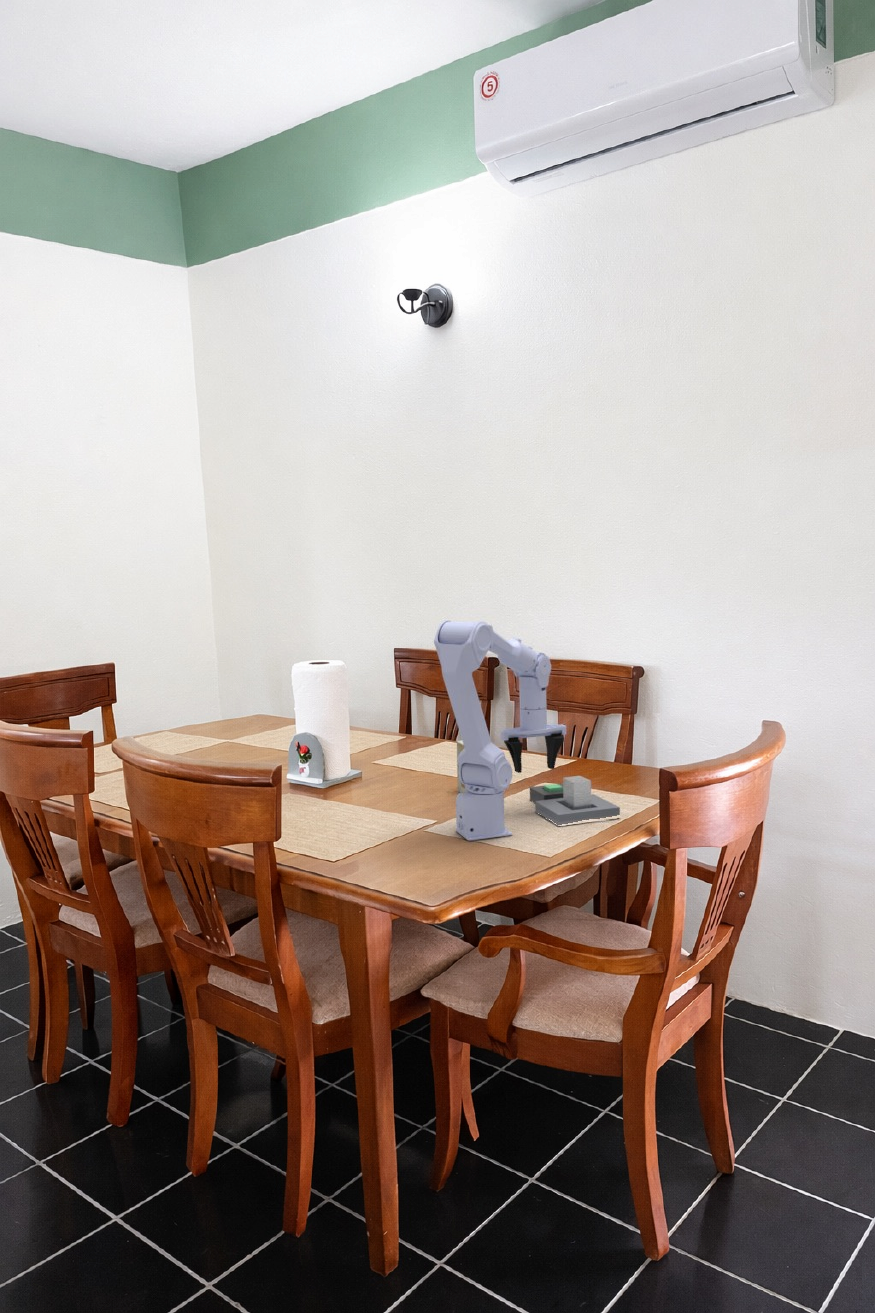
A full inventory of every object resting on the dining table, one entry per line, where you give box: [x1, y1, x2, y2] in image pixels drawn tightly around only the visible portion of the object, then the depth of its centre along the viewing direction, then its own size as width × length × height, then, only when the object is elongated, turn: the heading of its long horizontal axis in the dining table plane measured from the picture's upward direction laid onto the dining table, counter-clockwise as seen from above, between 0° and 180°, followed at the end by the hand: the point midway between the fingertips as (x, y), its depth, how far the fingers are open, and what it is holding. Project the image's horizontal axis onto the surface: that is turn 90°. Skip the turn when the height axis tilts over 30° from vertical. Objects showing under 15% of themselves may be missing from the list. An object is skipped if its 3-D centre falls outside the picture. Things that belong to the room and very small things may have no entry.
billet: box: [562, 775, 592, 810], centre depth 212 cm, size 4×5×7 cm
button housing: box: [529, 783, 564, 803], centre depth 224 cm, size 8×8×3 cm
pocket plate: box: [534, 793, 621, 826], centre depth 212 cm, size 14×12×2 cm
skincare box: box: [456, 739, 468, 793], centre depth 234 cm, size 6×4×12 cm
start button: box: [543, 783, 563, 792], centre depth 223 cm, size 3×3×2 cm
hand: (534, 770), depth 215 cm, fingers open, 7 cm apart
